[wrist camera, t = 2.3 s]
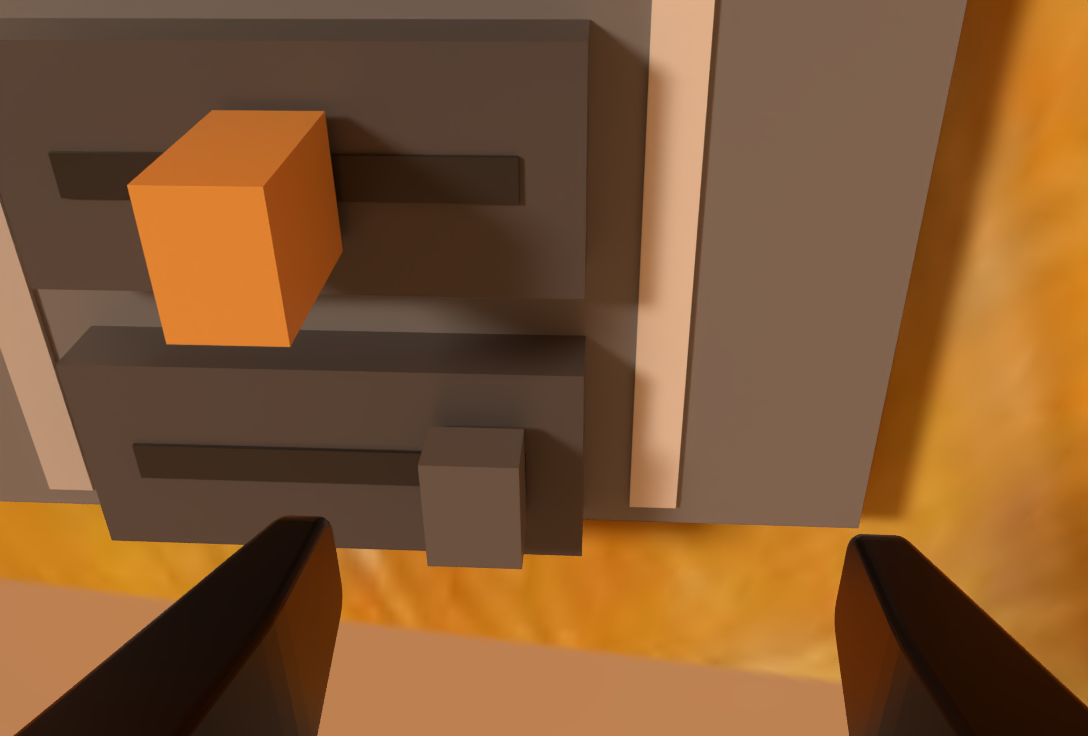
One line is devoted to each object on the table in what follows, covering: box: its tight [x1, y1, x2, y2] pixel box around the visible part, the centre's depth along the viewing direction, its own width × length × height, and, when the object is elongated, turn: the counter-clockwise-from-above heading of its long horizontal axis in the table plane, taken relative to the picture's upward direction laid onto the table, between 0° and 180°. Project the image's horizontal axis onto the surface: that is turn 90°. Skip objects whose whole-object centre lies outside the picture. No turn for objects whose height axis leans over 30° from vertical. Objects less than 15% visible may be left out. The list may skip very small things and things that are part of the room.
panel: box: [0, 0, 967, 569], centre depth 17 cm, size 17×20×4 cm
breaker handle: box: [127, 110, 343, 347], centre depth 15 cm, size 2×2×3 cm
